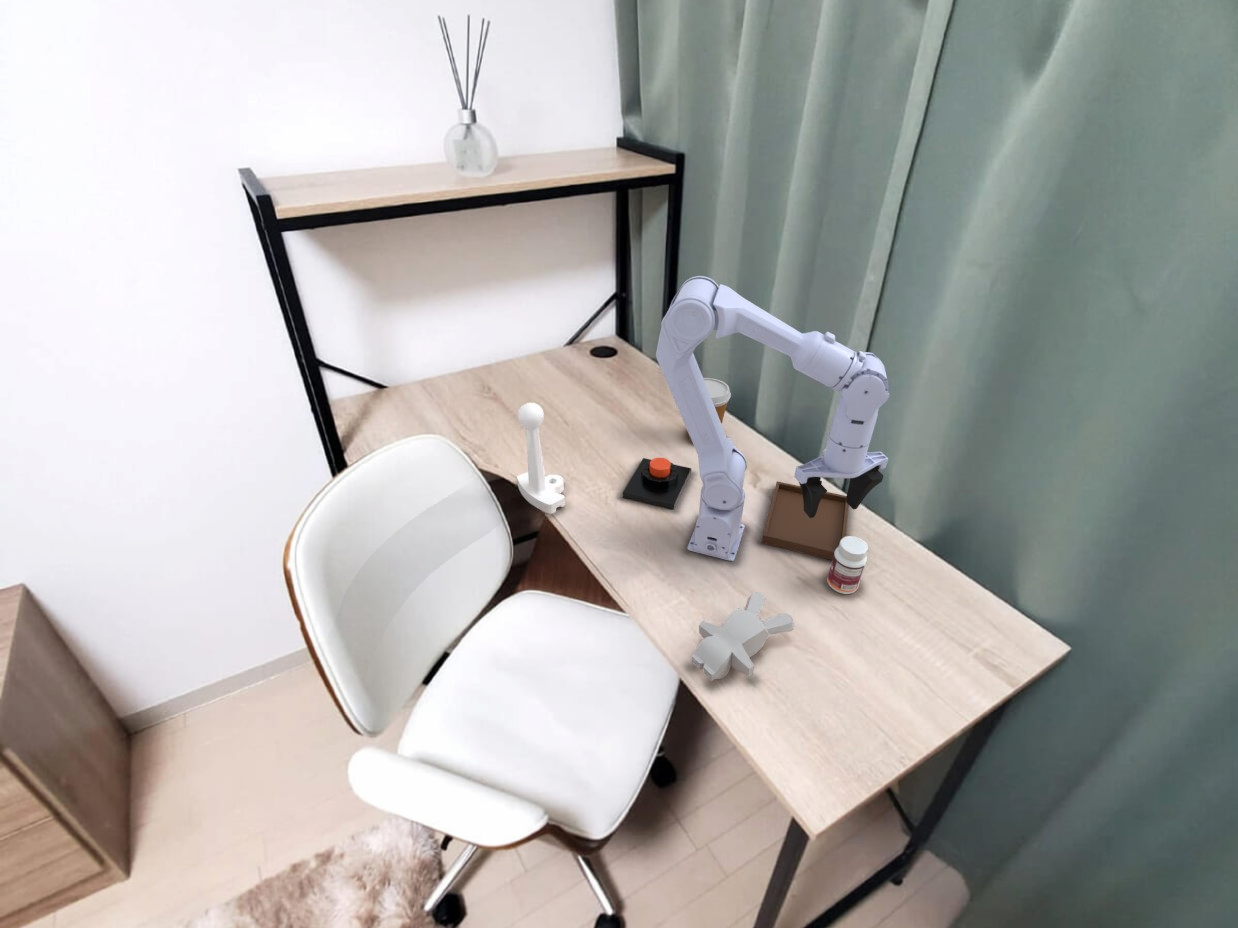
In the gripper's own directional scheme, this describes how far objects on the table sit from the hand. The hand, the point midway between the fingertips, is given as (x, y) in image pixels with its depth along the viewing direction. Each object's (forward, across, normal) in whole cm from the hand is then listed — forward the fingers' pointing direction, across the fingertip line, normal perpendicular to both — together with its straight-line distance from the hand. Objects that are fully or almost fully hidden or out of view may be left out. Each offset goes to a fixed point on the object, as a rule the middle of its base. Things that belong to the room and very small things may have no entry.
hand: (830, 509), depth 95 cm
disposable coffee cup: (+10, +5, -39) cm, 40 cm away
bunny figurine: (+10, +21, +14) cm, 27 cm away
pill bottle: (+10, 0, +7) cm, 12 cm away
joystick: (+10, +41, -28) cm, 51 cm away
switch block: (+9, +20, -25) cm, 33 cm away
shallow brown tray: (+9, -2, -7) cm, 12 cm away
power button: (+7, +20, -26) cm, 33 cm away
